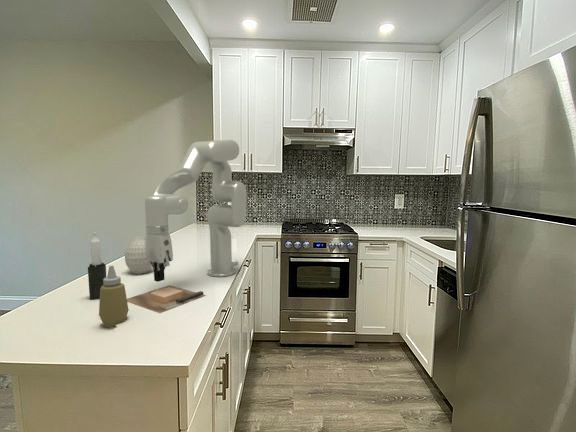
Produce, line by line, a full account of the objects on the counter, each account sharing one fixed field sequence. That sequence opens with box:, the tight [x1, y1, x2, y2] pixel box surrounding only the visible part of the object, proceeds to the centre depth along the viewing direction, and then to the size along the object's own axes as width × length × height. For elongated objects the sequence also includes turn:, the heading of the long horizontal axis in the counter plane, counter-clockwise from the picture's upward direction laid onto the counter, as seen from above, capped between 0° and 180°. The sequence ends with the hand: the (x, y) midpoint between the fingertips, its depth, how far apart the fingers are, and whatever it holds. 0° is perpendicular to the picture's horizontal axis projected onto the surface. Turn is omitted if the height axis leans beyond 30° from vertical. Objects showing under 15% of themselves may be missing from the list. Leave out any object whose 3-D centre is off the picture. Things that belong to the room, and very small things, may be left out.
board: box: [127, 284, 207, 314], centre depth 125 cm, size 20×21×1 cm
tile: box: [150, 287, 183, 304], centre depth 125 cm, size 8×2×8 cm
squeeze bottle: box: [98, 265, 130, 328], centre depth 105 cm, size 8×8×18 cm
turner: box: [159, 290, 204, 311], centre depth 122 cm, size 17×4×1 cm, turn 146°
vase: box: [124, 235, 153, 275], centre depth 161 cm, size 13×13×17 cm
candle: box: [87, 231, 107, 301], centre depth 124 cm, size 5×5×25 cm
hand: (159, 280), depth 126 cm, fingers closed
